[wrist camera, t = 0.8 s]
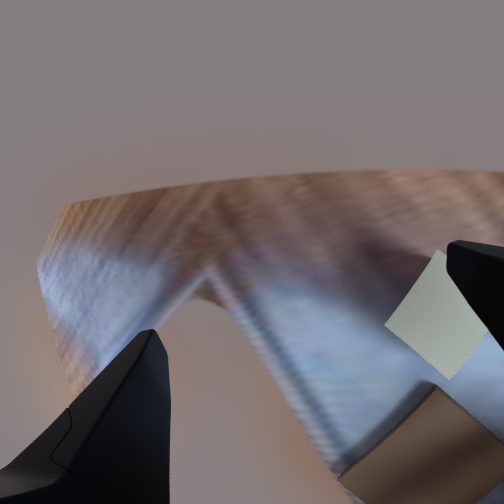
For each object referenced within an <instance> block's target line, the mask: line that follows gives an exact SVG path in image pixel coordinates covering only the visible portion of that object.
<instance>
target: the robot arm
mask: <svg viewBox="0 0 504 504" xmlns="http://www.w3.org/2000/svg"><path fill="white" fill-rule="evenodd" d="M446 270H447V273H448V275H449V276H450V278H451V279H452V281H453V282H454V284H455V285H456V286H457V288H458V289H459V291H460V292H461V294H462V295H463V297H464V298H465V300H466V301H467V303H468V304H469V306H470V307H471V308H472V310H473V311H474V312H475V314H476V315H477V316H478V317H479V319H480V320H481V321H482V323H483V324H484V325H485V326H486V328H487V329H488V330H489V332H490V333H491V334H492V336H493V337H494V338H495V340H496V341H497V342H498V344H499V345H500V346H501V348H502V349H503V351H504V247H500V246H494V245H488V244H482V243H476V242H470V241H463V240H456V241H454V242H451V243H449V244H448V246H447V258H446ZM170 418H171V396H170V382H169V366H168V355H167V352H166V350H165V348H164V346H163V344H162V342H161V340H160V338H159V336H158V334H157V332H156V331H155V330H154V329H149V330H145V331H141V332H140V333H139V334H138V335H137V336H136V337H135V338H134V339H133V340H132V341H131V342H130V343H129V344H128V345H127V346H126V347H125V348H124V349H123V350H122V351H121V352H120V353H119V354H118V355H117V356H116V357H115V358H114V359H113V360H112V361H111V362H110V363H109V364H108V365H107V366H106V367H105V368H104V370H103V371H102V372H101V373H100V374H99V375H98V376H97V377H96V378H95V379H94V380H93V381H92V382H91V383H90V384H89V385H88V386H87V387H86V388H85V389H84V390H83V391H82V393H81V394H80V395H79V396H78V397H77V398H76V399H75V400H74V401H73V402H72V403H71V404H70V405H69V408H66V409H65V410H64V412H63V413H62V414H61V415H60V416H59V417H58V418H57V419H56V420H55V421H54V422H53V423H52V424H51V425H50V426H49V427H48V428H47V429H46V430H45V431H44V432H43V433H42V434H41V435H40V436H39V437H38V438H36V440H34V441H33V442H32V443H31V444H30V445H29V446H28V447H27V448H26V449H25V450H23V452H21V453H20V454H19V455H18V456H17V457H16V458H15V459H14V460H13V461H12V462H11V463H9V464H8V465H7V466H6V467H4V468H2V469H1V470H0V504H170V489H169V488H170V487H169V467H170V466H169V465H170V464H169V463H170Z"/></svg>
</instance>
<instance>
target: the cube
mask: <svg viewBox="0 0 504 504" xmlns="http://www.w3.org/2000/svg"><path fill="white" fill-rule="evenodd" d="M446 258H447V255H445V254H444V253H443V252H441V251H440V250H439V249H438V250H437V251H436V253H435V254H434V256H433V257H432V259H431V261H430V262H429V264H428V265H427V267H426V268H425V270H424V271H423V273H422V274H421V275H420V277H419V278H418V280H417V281H416V283H415V284H414V286H413V287H412V288H411V290H410V291H409V293H408V294H407V295H406V297H405V298H404V299H403V301H402V302H401V304H400V305H399V306H398V308H397V309H396V310H395V312H394V313H393V314H392V316H391V317H390V318H389V319H388V321H387V322H386V323H385V326H386V327H387V328H388V329H389V330H391V331H392V332H393V333H394V334H395V335H397V336H398V337H399V338H400V339H401V340H403V341H404V342H405V343H406V344H407V345H409V346H410V347H411V348H412V349H413V350H414V351H416V352H417V353H418V354H419V355H420V356H422V357H423V358H424V359H425V360H426V361H428V362H429V363H430V364H431V365H432V366H433V367H435V368H436V369H437V370H438V371H439V372H440V373H442V374H443V375H444V376H445V377H446V378H447V379H449V380H451V378H452V377H453V376H454V375H455V374H456V372H457V371H458V370H459V369H460V367H461V366H462V365H463V364H464V362H465V361H466V360H467V359H468V357H469V356H470V355H471V353H472V352H473V351H474V349H475V348H476V347H477V345H478V344H479V343H480V341H481V340H482V339H483V337H484V336H485V334H486V333H487V331H488V329H487V328H486V326H485V325H484V324H483V323H482V321H481V320H480V319H479V317H478V316H477V315H476V314H475V312H474V311H473V310H472V308H471V307H470V306H469V304H468V303H467V301H466V300H465V298H464V297H463V295H462V294H461V292H460V291H459V289H458V288H457V286H456V285H455V284H454V282H453V281H452V279H451V278H450V276H449V275H448V273H447V270H446Z"/></svg>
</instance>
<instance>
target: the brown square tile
mask: <svg viewBox="0 0 504 504" xmlns="http://www.w3.org/2000/svg"><path fill="white" fill-rule="evenodd" d="M503 479H504V443H503V442H502V441H500V440H499V439H498V438H497V437H496V436H495V435H494V434H493V433H491V432H490V431H489V430H488V429H487V428H486V427H485V426H483V425H482V424H481V423H480V422H479V421H478V420H477V419H475V418H474V417H473V416H472V415H471V414H470V413H469V412H467V411H466V410H465V409H464V408H463V407H462V406H460V405H459V404H458V403H457V402H456V401H455V400H454V399H452V398H451V397H450V396H449V395H448V394H447V393H445V392H444V391H443V390H442V389H441V388H440V387H438V386H437V385H435V386H434V387H433V388H432V389H431V390H430V391H429V393H428V394H427V395H426V396H425V397H424V398H423V399H422V400H421V401H420V402H419V403H418V404H417V405H416V407H415V408H414V409H413V410H412V411H411V412H410V413H409V414H408V415H407V416H406V417H405V418H404V419H403V420H402V421H401V422H400V423H399V424H398V425H397V426H396V427H395V428H393V429H392V430H391V431H390V432H389V433H388V434H387V435H386V436H385V437H384V438H383V439H382V440H380V441H379V442H378V443H377V444H376V445H375V446H374V447H373V448H371V449H370V450H369V451H368V452H367V453H366V454H364V455H363V456H362V457H361V458H360V459H358V460H357V461H356V462H355V463H354V464H352V465H351V466H350V467H349V468H347V469H346V470H345V471H344V472H342V473H341V475H340V476H339V478H338V479H337V480H338V481H339V482H340V483H341V484H342V485H344V486H345V487H346V488H347V489H348V490H350V491H351V492H352V493H353V494H354V495H356V496H357V497H358V498H359V499H361V500H362V501H363V502H364V503H365V504H475V503H476V502H477V501H479V500H480V499H481V498H482V497H483V496H485V495H486V494H487V493H488V492H489V491H490V490H492V489H493V488H494V487H495V486H496V485H497V484H498V483H499V482H500V481H502V480H503Z"/></svg>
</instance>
